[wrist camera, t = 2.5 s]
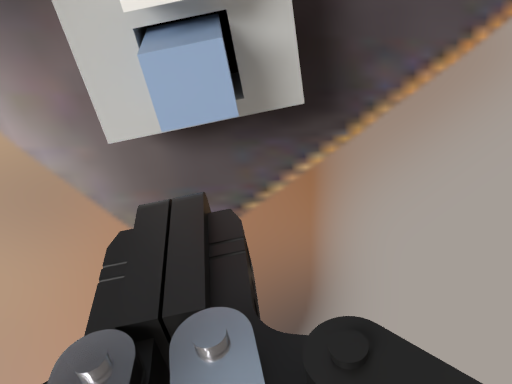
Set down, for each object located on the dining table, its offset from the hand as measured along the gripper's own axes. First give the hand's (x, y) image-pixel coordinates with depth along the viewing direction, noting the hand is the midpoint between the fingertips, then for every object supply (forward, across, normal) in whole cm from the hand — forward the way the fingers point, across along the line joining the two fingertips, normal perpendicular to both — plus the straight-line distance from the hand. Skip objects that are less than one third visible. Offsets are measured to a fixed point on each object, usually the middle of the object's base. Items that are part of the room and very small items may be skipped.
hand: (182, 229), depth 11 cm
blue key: (+14, 0, 0) cm, 14 cm away
